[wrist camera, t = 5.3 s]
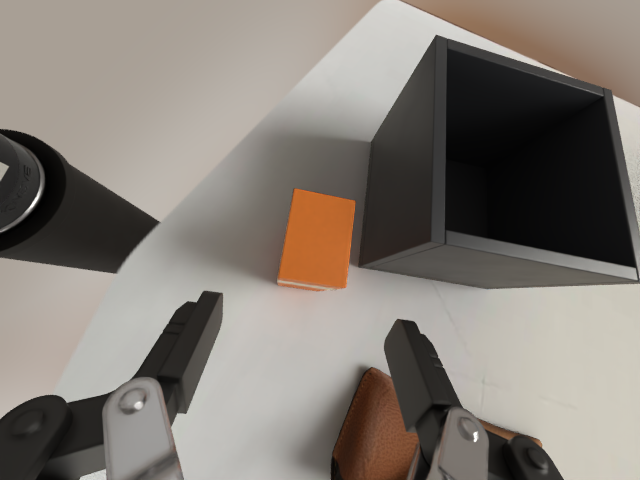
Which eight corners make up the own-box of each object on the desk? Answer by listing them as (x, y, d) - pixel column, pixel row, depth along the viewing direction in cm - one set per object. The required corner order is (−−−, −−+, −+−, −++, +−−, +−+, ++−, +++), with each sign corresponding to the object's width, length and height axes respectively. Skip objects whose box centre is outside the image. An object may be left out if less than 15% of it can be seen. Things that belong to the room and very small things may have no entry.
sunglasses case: (548, 436, 21) (641, 550, 15) (500, 485, 23) (565, 605, 17) (363, 360, 20) (379, 448, 14) (328, 419, 22) (327, 520, 16)
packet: (276, 285, 21) (276, 278, 12) (286, 229, 22) (293, 186, 13) (318, 292, 21) (347, 289, 13) (326, 236, 23) (357, 199, 14)
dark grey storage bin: (358, 267, 22) (430, 241, 12) (370, 141, 26) (435, 34, 15) (487, 289, 24) (650, 283, 14) (483, 168, 28) (611, 89, 17)
